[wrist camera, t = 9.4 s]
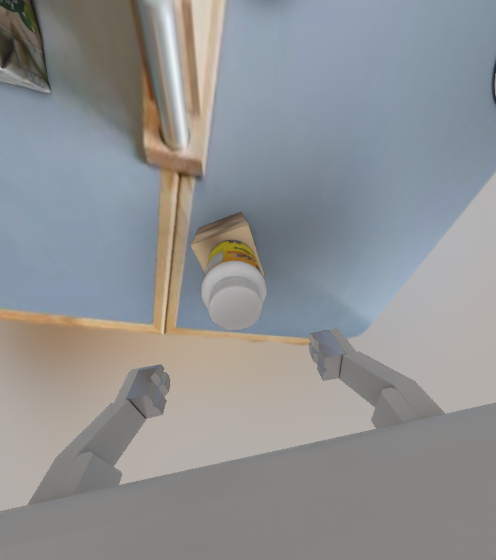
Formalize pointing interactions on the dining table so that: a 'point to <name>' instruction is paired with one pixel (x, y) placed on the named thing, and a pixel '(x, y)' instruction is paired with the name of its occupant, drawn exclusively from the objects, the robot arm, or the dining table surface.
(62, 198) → the dining table surface
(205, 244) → the tower top block
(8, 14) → the juice carton
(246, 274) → the supplement bottle
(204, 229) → the tower base block
